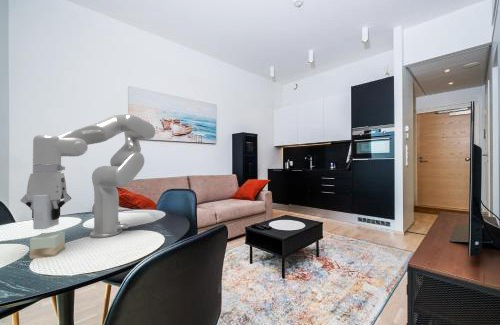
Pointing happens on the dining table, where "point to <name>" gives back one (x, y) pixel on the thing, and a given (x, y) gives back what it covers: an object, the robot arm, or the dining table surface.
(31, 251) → the oak slab
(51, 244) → the sage slab
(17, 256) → the dining table surface
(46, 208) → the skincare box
